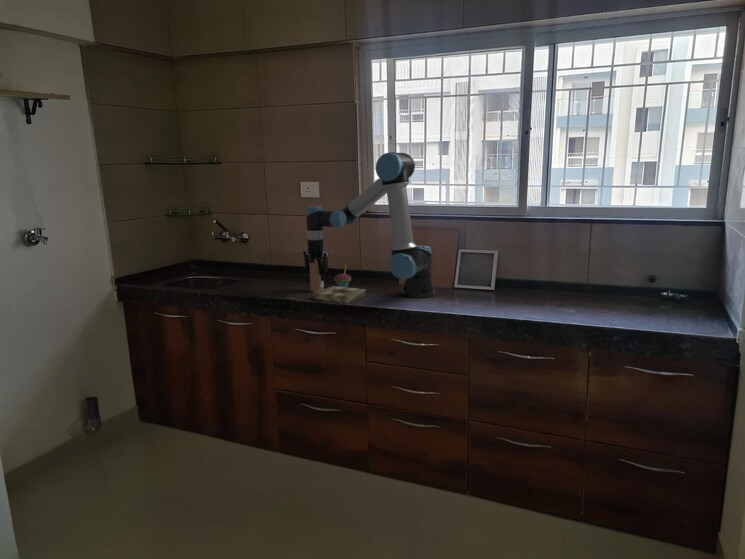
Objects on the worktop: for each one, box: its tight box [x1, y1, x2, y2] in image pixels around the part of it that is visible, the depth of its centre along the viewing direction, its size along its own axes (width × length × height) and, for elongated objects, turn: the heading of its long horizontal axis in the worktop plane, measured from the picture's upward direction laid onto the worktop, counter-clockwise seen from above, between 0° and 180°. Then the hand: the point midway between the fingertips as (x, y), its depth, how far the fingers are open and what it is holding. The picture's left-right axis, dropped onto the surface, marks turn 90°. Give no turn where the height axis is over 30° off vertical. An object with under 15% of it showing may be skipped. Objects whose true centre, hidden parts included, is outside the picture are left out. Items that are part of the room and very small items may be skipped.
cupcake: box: [333, 264, 352, 288], centre depth 259 cm, size 9×8×12 cm
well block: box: [313, 285, 367, 304], centre depth 240 cm, size 18×16×3 cm
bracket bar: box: [309, 261, 325, 293], centre depth 252 cm, size 4×4×14 cm
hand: (317, 286), depth 253 cm, fingers closed on bracket bar, 4 cm apart
